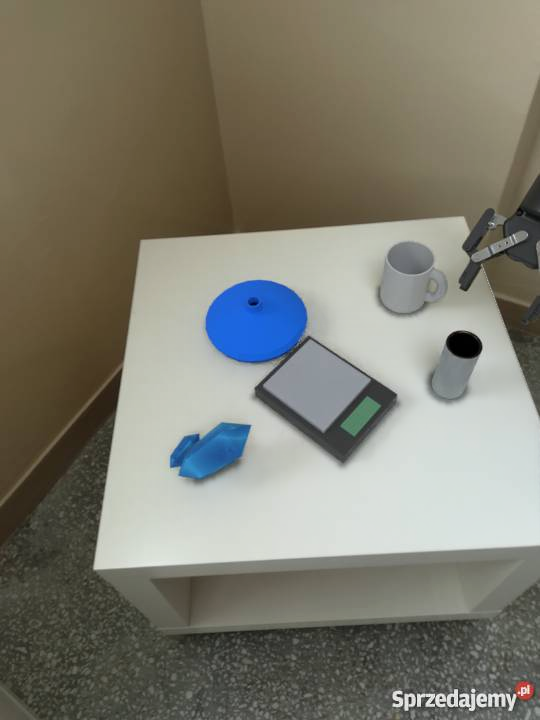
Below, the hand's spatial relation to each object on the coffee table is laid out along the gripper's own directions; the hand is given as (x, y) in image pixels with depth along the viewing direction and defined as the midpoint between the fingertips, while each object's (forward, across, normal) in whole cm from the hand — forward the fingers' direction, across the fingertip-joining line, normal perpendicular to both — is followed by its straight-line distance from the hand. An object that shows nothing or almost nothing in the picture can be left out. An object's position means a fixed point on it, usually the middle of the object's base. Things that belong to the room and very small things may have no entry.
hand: (492, 306), depth 68 cm
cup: (+6, -13, +12) cm, 18 cm away
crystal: (+34, -17, -17) cm, 42 cm away
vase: (+20, -28, -2) cm, 34 cm away
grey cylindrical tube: (+13, 0, +5) cm, 14 cm away
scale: (+22, -12, -5) cm, 26 cm away
